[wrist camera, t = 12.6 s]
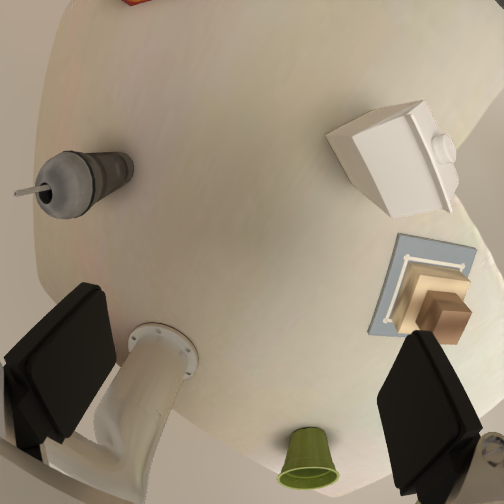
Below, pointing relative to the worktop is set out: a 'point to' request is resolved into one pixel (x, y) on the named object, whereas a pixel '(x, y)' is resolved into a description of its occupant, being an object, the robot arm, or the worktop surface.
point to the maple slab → (424, 292)
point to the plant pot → (308, 461)
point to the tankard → (500, 3)
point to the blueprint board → (404, 253)
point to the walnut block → (443, 316)
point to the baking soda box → (134, 2)
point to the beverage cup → (78, 181)
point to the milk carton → (398, 159)
